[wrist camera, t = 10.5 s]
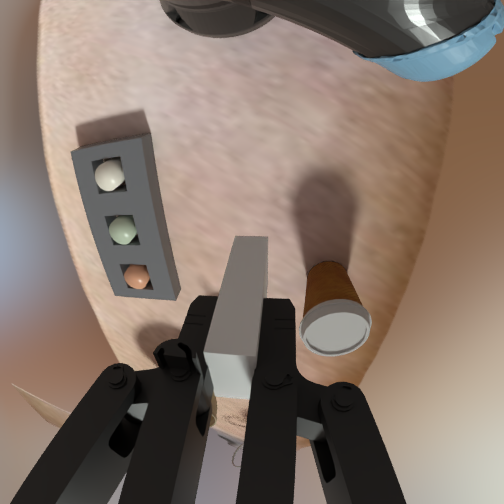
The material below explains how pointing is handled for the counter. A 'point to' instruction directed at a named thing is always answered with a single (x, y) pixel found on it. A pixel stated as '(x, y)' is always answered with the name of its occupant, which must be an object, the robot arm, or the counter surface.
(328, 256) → the counter surface
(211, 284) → the counter surface
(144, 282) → the terracotta button
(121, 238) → the sage button
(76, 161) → the button panel
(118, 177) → the white rounded piece
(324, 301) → the disposable coffee cup
